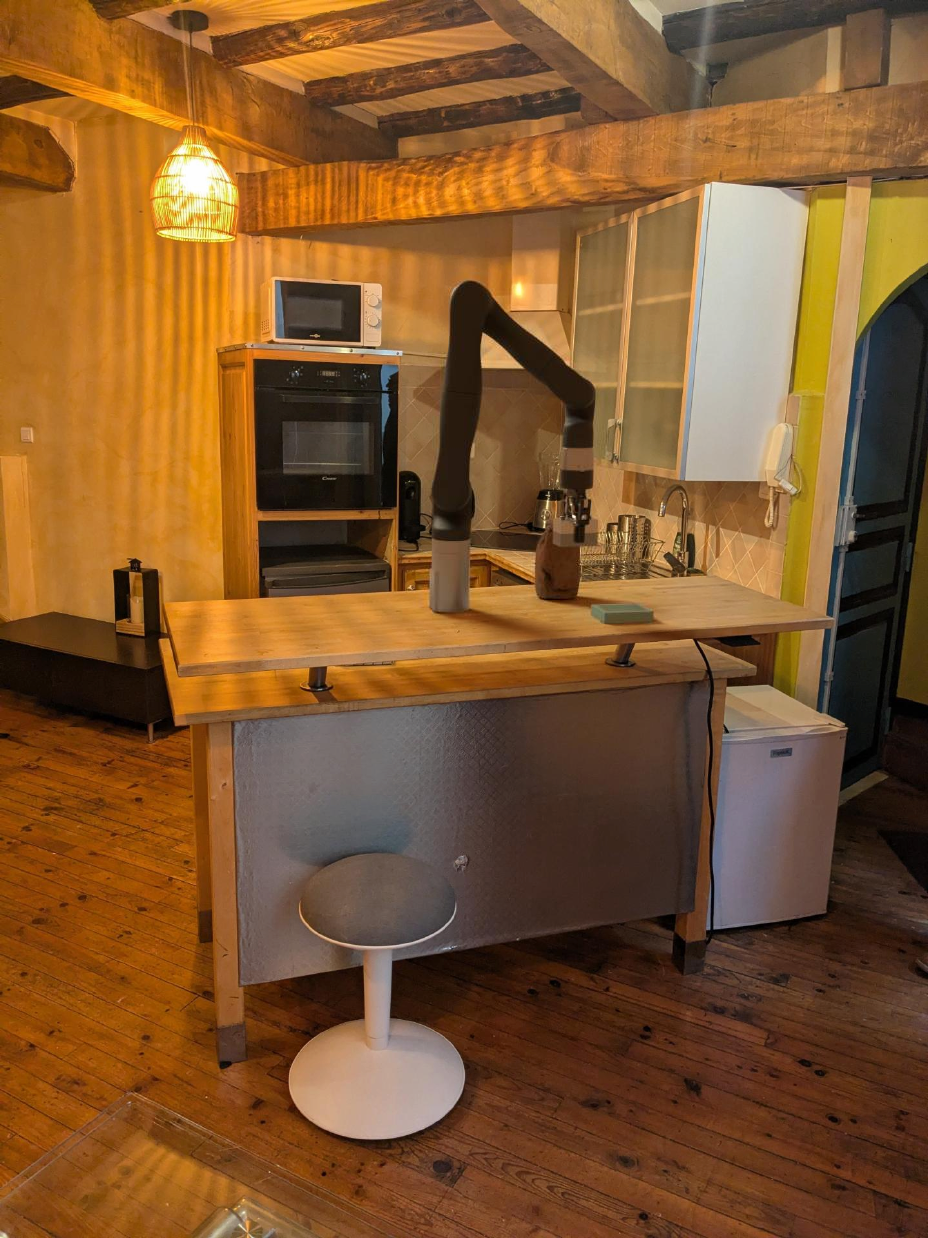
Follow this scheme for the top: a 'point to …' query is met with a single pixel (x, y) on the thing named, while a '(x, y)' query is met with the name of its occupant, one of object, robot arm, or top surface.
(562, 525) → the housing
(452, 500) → the robot arm
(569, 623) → the top surface
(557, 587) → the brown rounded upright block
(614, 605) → the stand
